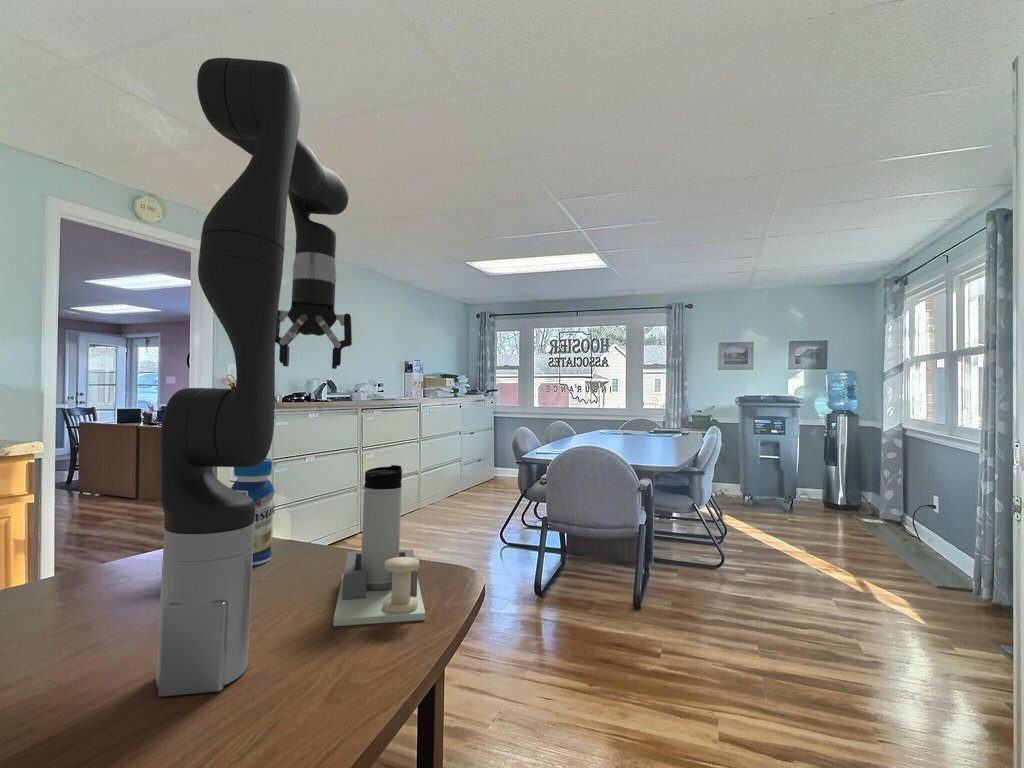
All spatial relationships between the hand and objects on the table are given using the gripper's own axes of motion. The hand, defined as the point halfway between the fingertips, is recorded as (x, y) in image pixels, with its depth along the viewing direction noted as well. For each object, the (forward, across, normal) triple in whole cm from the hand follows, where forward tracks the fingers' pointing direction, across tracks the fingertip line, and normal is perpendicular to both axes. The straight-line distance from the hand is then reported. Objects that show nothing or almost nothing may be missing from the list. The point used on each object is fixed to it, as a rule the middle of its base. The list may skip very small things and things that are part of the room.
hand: (310, 367), depth 98 cm
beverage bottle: (+38, -11, +10) cm, 41 cm away
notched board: (+38, +14, -14) cm, 43 cm away
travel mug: (+37, +14, -11) cm, 41 cm away
